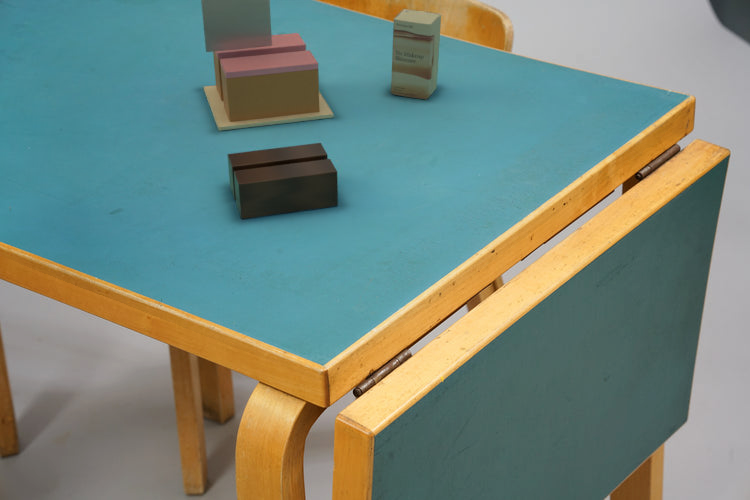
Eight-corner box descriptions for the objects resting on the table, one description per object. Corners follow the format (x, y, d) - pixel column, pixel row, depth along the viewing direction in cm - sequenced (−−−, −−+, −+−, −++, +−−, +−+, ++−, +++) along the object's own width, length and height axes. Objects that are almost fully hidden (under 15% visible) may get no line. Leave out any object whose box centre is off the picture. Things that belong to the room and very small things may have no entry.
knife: (203, 55, 116) (194, -41, 110) (200, 48, 118) (191, -47, 112) (277, 48, 119) (272, -47, 113) (273, 41, 120) (268, -53, 114)
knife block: (241, 219, 98) (238, 184, 96) (230, 187, 104) (227, 153, 102) (338, 206, 101) (337, 171, 99) (321, 175, 106) (320, 142, 104)
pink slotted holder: (218, 131, 116) (214, 76, 112) (203, 89, 127) (198, 39, 123) (333, 117, 119) (332, 64, 116) (309, 78, 130) (307, 29, 126)
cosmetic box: (389, 95, 125) (390, 18, 120) (400, 83, 129) (402, 7, 124) (428, 100, 124) (431, 23, 119) (438, 88, 127) (441, 12, 122)
